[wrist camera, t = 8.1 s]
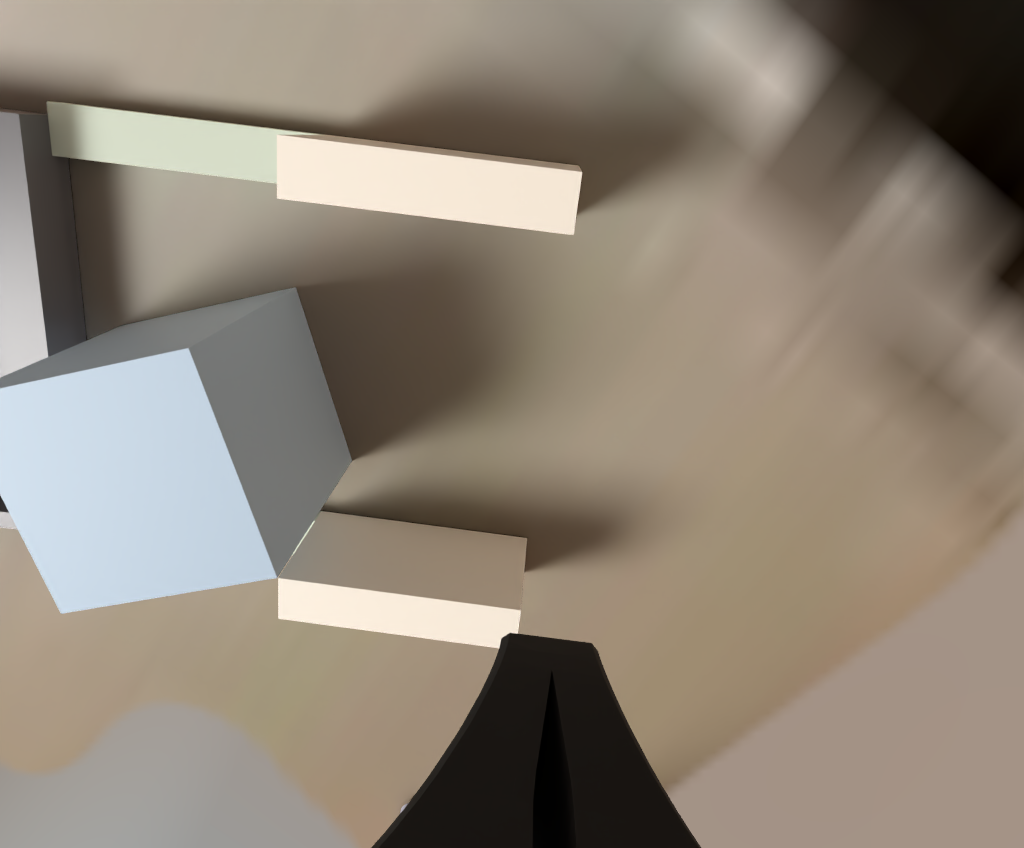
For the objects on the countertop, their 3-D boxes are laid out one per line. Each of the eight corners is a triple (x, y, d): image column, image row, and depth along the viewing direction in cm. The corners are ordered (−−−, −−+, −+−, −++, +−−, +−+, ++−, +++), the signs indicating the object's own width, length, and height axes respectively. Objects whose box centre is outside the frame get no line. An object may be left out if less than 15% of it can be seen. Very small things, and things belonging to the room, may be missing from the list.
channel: (522, 573, 22) (515, 650, 19) (104, 517, 22) (24, 584, 19) (578, 165, 18) (582, 171, 14) (62, 102, 18) (-50, 94, 15)
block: (352, 459, 21) (277, 577, 15) (190, 489, 22) (61, 613, 16) (296, 286, 19) (188, 348, 14) (121, 325, 20) (-49, 399, 14)
